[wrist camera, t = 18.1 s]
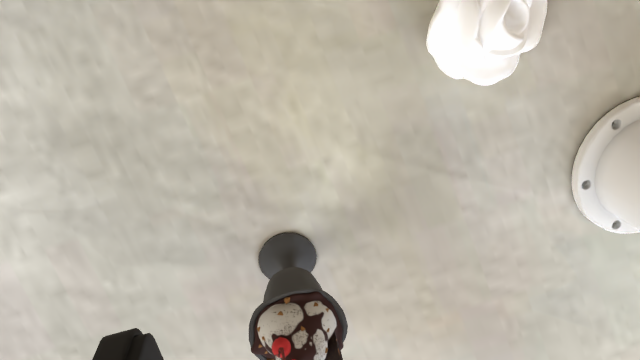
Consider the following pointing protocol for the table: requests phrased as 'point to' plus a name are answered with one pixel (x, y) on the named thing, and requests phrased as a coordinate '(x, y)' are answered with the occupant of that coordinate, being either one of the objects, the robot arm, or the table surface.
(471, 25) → the rose
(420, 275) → the table surface
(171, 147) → the table surface
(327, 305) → the sundae
